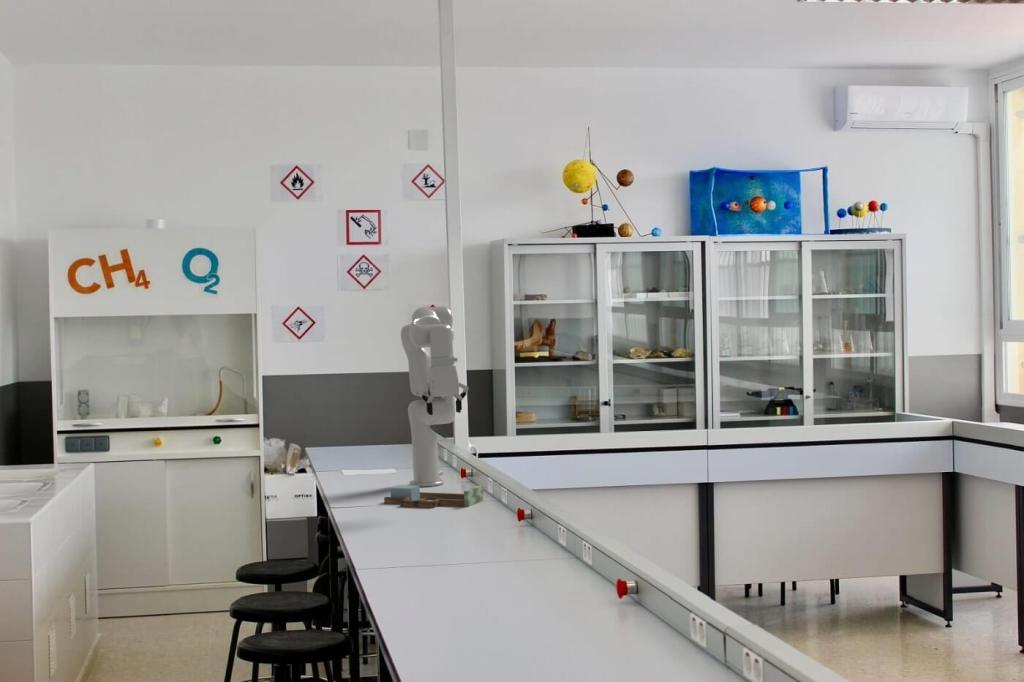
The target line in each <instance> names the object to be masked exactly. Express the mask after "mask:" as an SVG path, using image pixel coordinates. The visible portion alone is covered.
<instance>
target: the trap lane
mask: <svg viewBox="0 0 1024 682" xmlns="http://www.w3.org/2000/svg"><path fill="white" fill-rule="evenodd" d="M484 498H485V497H484V485H477V486H475V487H472V488H469V489H467V490H464V491H463V493H454V492H453V493H452V492H451V493H450V492H424V491H421V492H420V499H418V500H412V498H404V497H391V496H384V497H383V502H384V504H390V505H391V504H392V505H393V504H394V505H400V507H404V508H422V509H423V508H426V509H427V508H428V509H435V508H437V507H440V506H441V507H462V508H463V507H467V508H469V507H471V506H474V505H476V504H478V503H481V502H483V501H484V500H485V499H484Z"/></svg>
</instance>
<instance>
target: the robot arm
mask: <svg viewBox="0 0 1024 682" xmlns="http://www.w3.org/2000/svg"><path fill="white" fill-rule="evenodd" d="M453 323H454V322H453V314H452V311H451V310H450V309H449V308H448V307H446V306H427V307H426V306H425V307H424V306H423V307H419V308H417V309H415V311H414V312H413V313H412V315H411V323H409V324H406V325H403V326H402V328H401V330H400V341H401V345H402V347H403V350H404V352H405V355H406V358H407V361H408V375H409V387H410V391H411V394H412V395H414V396H417V397H418V396H419V397H420V398H421V399H418V400H417V399H416V400H414V401H411V402H410V403H409V405H408V407H407V414H408V420H409V425H410V431H411V432H410V433H411V451H412V470H413V471H412V472H413V474H412V475H413V480H411V481H409V485H414V486H420V488H421V487H426V488H427V487H435V486H440V485H443V484H444V482H445V481H444V479H442V478H440V476H443V475H444V471H443V470H440V468H439V467H440V466H439V449H438V447H439V443H438V436H437V434H436V432H435V431H434V430H433V429H432V428H431V427H430V426H433V425H443V424H444V425H445V424H451V423H454V421H455V418H456V413H459V414H461V413H462V412H461V411H462V410H463V405H462V403H463V402H462V401H463V399H464V398H465V397H466V396H467V394H468V391H469V388H470V387H469V386H467V385H465V384H463V383H461V382H459V376H458V370H457V367H456V365H455V363H457V362H458V357H454V348H453V341H454V329H453V328H452V327H453ZM425 348H430V353H429V351H428V350H426V349H425ZM460 389H462V392H461V393H460ZM437 397H441V398H437ZM455 399H456V400H455Z"/></svg>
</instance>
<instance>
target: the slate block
mask: <svg viewBox="0 0 1024 682" xmlns="http://www.w3.org/2000/svg"><path fill="white" fill-rule="evenodd" d="M420 488H421V487H420V486H414V485H410V484H408V485H406V484H405V485H404V484H399V485H396V486H392V487H390V497H404V498H412V500H418V499H420V491H421V489H420Z"/></svg>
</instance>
